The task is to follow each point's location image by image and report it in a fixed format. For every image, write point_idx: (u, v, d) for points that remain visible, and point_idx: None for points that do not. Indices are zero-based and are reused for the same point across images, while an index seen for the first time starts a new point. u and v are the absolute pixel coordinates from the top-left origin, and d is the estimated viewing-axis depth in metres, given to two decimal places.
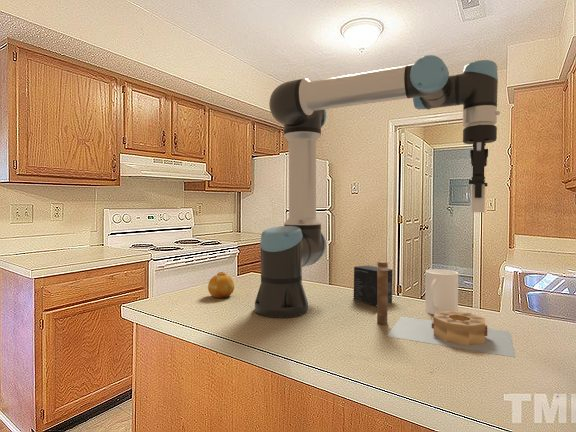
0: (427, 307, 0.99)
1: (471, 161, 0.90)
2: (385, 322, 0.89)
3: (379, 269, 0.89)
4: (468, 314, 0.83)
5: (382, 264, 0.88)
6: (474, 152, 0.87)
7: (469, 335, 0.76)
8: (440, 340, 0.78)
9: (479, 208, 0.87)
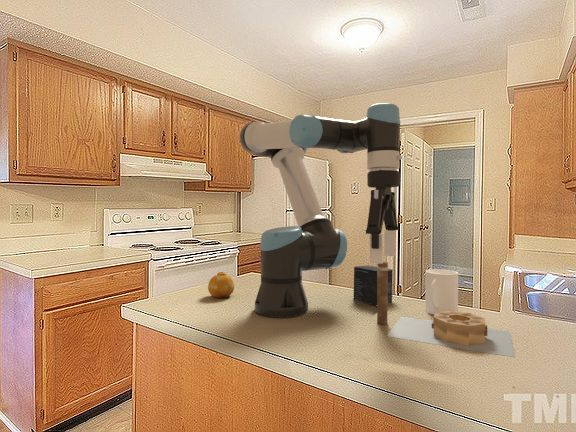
0: (427, 307, 0.99)
1: None
2: (385, 322, 0.89)
3: (379, 269, 0.89)
4: (468, 314, 0.83)
5: (382, 264, 0.88)
6: (371, 200, 0.83)
7: (469, 335, 0.76)
8: (440, 340, 0.78)
9: (377, 259, 0.83)
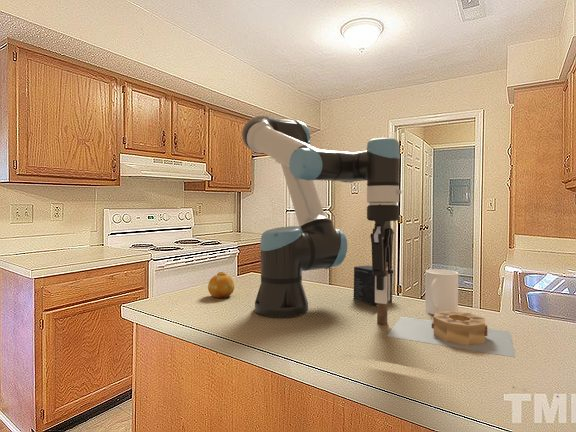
0: (427, 307, 0.99)
1: None
2: (385, 322, 0.89)
3: None
4: (468, 314, 0.83)
5: None
6: (372, 244, 0.85)
7: (469, 335, 0.76)
8: (440, 340, 0.78)
9: (381, 299, 0.88)
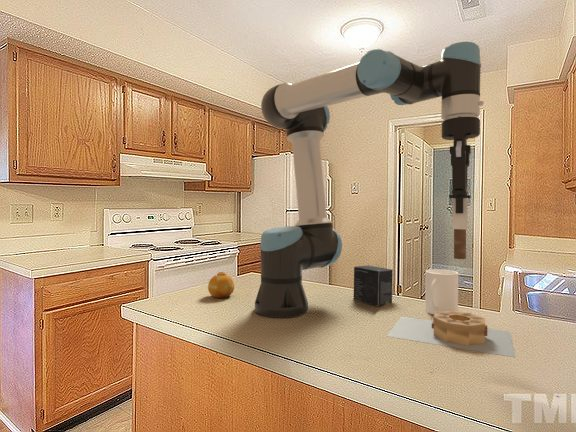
0: (427, 307, 0.99)
1: (451, 165, 0.79)
2: (464, 251, 0.79)
3: None
4: (468, 314, 0.83)
5: None
6: (453, 159, 0.75)
7: (469, 335, 0.76)
8: (440, 340, 0.78)
9: (461, 225, 0.79)
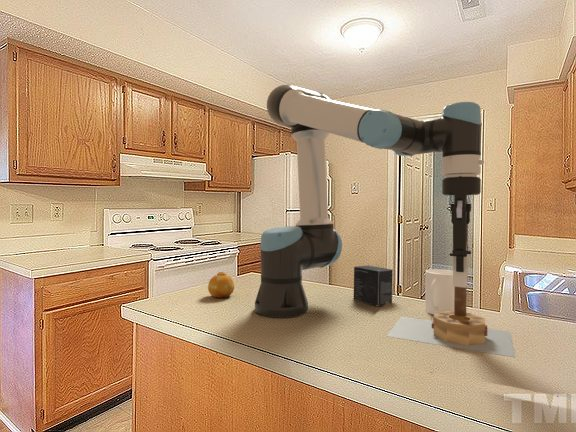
0: (427, 307, 0.99)
1: (452, 222, 0.79)
2: (464, 308, 0.80)
3: None
4: (468, 314, 0.83)
5: None
6: (454, 220, 0.76)
7: (469, 335, 0.76)
8: (440, 340, 0.78)
9: (461, 283, 0.79)
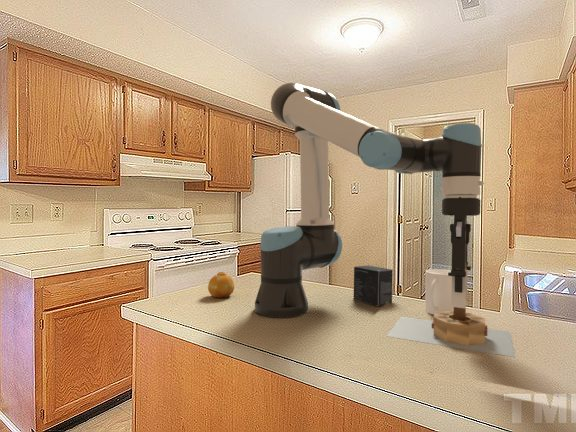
0: (427, 307, 0.99)
1: (451, 242, 0.79)
2: None
3: None
4: (468, 314, 0.83)
5: None
6: (453, 239, 0.75)
7: (469, 335, 0.76)
8: (440, 340, 0.78)
9: (460, 303, 0.77)
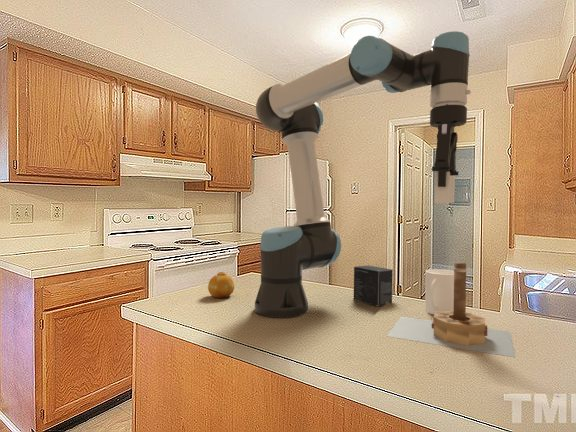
0: (427, 307, 0.99)
1: None
2: None
3: (457, 271, 0.80)
4: (468, 314, 0.83)
5: (461, 265, 0.80)
6: (439, 135, 0.77)
7: (469, 335, 0.76)
8: (440, 340, 0.78)
9: (443, 198, 0.77)
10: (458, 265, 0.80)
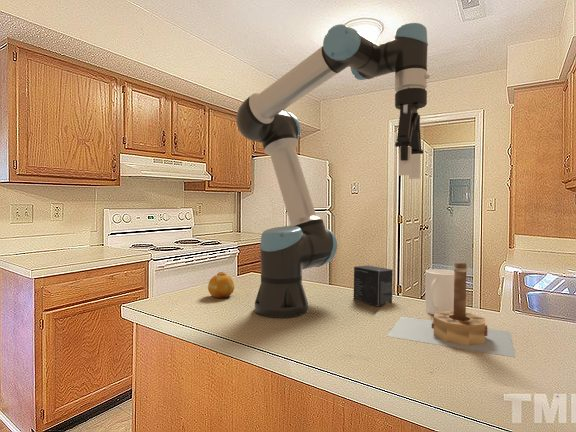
0: (427, 307, 0.99)
1: None
2: None
3: (457, 270, 0.80)
4: (468, 314, 0.83)
5: (461, 265, 0.80)
6: (401, 114, 0.86)
7: (469, 335, 0.76)
8: (440, 340, 0.78)
9: (405, 171, 0.86)
10: (458, 265, 0.80)
